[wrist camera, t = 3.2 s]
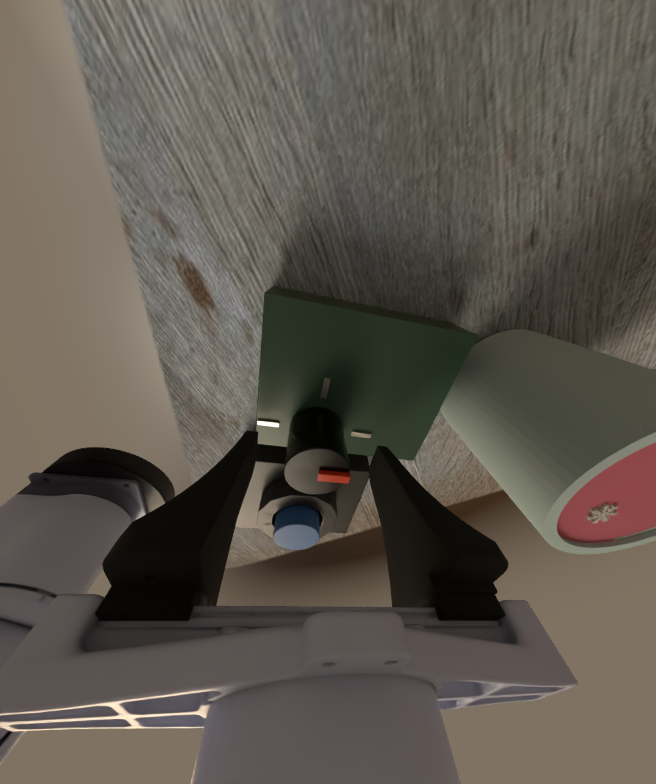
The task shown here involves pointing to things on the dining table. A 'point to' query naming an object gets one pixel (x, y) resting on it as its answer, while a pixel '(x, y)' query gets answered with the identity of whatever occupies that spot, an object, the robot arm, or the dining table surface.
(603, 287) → the dining table surface
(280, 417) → the panel
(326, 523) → the button block
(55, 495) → the robot arm
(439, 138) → the dining table surface
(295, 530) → the plunger
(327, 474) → the knob
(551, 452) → the mug
